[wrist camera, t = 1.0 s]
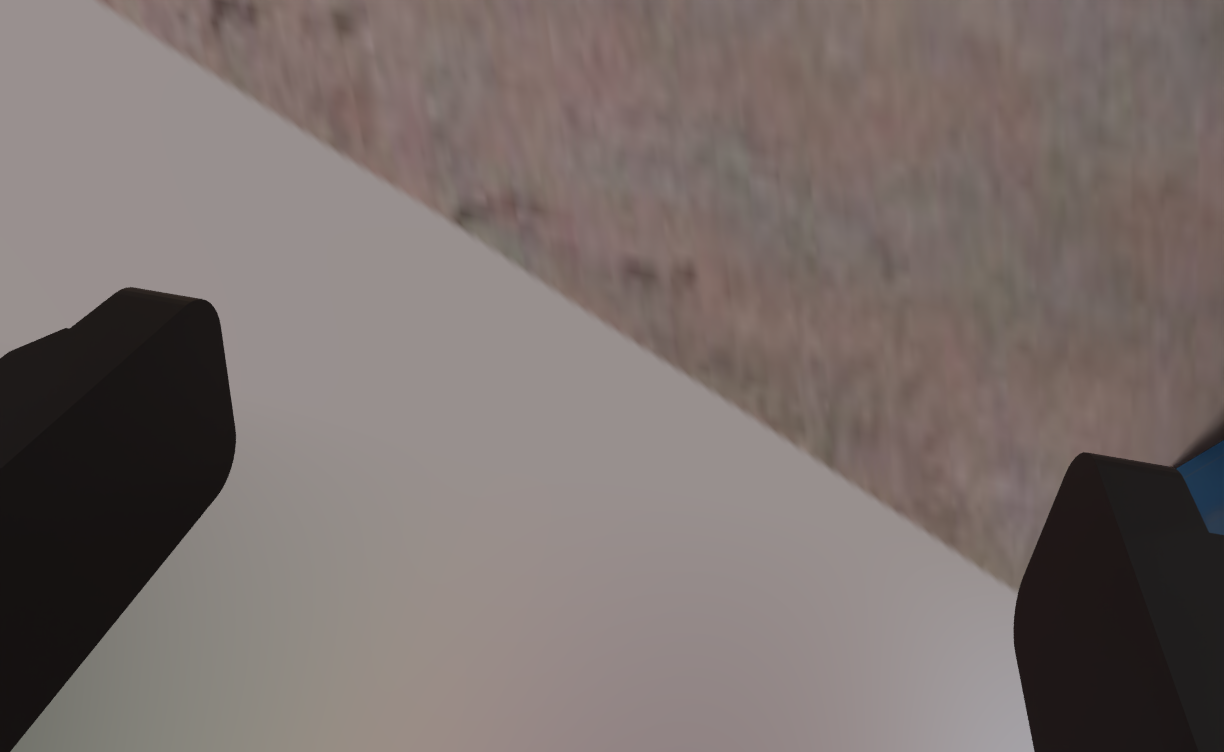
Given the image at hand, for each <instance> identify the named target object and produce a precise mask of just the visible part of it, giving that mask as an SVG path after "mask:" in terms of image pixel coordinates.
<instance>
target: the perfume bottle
mask: <svg viewBox="0 0 1224 752" xmlns="http://www.w3.org/2000/svg"><path fill="white" fill-rule="evenodd" d="M1176 469H1177V470H1178V471H1179V472H1180V473H1181V475H1182V476H1183V478H1184V480H1185V482H1186V484H1187V486H1188V488H1189V490H1190V493H1191V495H1192V497H1193V499H1194V501H1195V503H1196V505H1197V508H1198V510H1199V512H1200V514H1201V516H1202V518H1203V521H1204V523H1205V525H1206V527H1207V529H1208V531H1209V533H1215V534H1220V535H1224V440H1223V441H1221V442H1220V443H1218V444H1216V445H1215V446H1213V447H1211V448H1210V449H1208V450H1206V451H1205V452H1203V453H1201V454H1200V455H1198V456H1196V457H1195V458H1193V459H1191V460H1190V461H1188V462H1186V463H1185V464H1183V465H1181V466H1180V467H1178V468H1176Z"/></svg>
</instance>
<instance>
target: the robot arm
mask: <svg viewBox="0 0 1224 752" xmlns="http://www.w3.org/2000/svg"><path fill="white" fill-rule="evenodd" d="M235 444H236V432H235V423H234V416H233V409H232V402H231V396H230V389H229V381H228V374H227V367H226V360H225V353H224V346H223V339H222V332H221V325H220V320H219V317H218V314H217V312H216V310H215V308H214V307H213V306H212V304H211V303H209V302H208V301H206V300H202V299H198V298H192V297H186V296H180V295H174V294H168V293H162V292H156V291H151V290H145V289H139V288H133V287H130V288H124V289H121V290H120V291H118V292H116V293H115V294H114V295H112V296H111V297H110V298H108V299H107V300H106V301H104V302H103V303H102V304H101V305H99V306H98V307H97V308H96V309H94V310H93V311H92V312H90V313H89V314H88V315H87V316H85V317H84V318H83V319H82V320H80V321H79V322H78V323H76V324H75V325H74V326H72V327H71V328H70V329H68V328H65V329H62V330H60V331H58V332H55V333H53V334H50V335H48V336H46V337H44V338H41V339H38V340H36V341H34V342H31V343H29V344H27V345H24V346H22V347H19V348H17V349H15V350H12V351H11V352H9V353H7V354H6V355H4V356H3V357H2V358H0V752H10V751H11V750H12V749H13V747H14V746H15V745H16V744H17V743H18V741H19V740H20V739H21V738H22V736H23V735H24V734H25V733H26V731H27V730H28V729H29V728H30V727H31V725H32V724H33V723H34V722H35V720H36V719H37V718H38V716H39V715H40V714H41V713H42V712H43V710H44V709H45V708H46V707H47V705H48V704H49V703H50V702H51V701H52V699H53V698H54V697H55V696H56V694H57V693H58V692H59V691H60V689H61V688H62V687H63V686H64V684H65V683H66V682H67V681H68V679H69V678H70V677H71V676H72V675H73V673H74V672H75V671H76V670H77V669H78V667H79V666H80V664H81V663H82V662H83V661H84V660H85V659H86V657H87V656H88V655H89V654H90V652H91V651H92V650H93V649H94V648H95V646H96V645H97V644H98V643H99V641H100V640H101V639H102V638H103V636H104V635H105V634H106V633H107V631H108V630H109V629H110V628H111V627H112V625H113V624H114V623H115V622H116V620H117V619H118V618H119V616H120V615H121V614H122V613H123V612H124V610H125V609H126V608H127V607H128V605H129V604H130V603H131V602H132V601H133V599H134V598H135V597H136V596H137V594H138V593H139V592H140V591H141V590H142V588H143V587H144V586H145V585H146V583H147V582H148V581H149V580H150V578H151V577H152V576H153V575H154V573H155V572H156V571H157V570H158V568H159V567H160V566H161V565H162V563H163V562H164V561H165V560H166V559H167V557H168V556H169V555H170V554H171V552H172V551H173V550H174V549H175V548H176V546H177V545H178V544H179V543H180V541H181V540H182V539H183V538H184V536H185V535H186V534H187V533H188V531H189V530H190V529H191V527H193V525H194V524H195V523H196V521H197V520H198V519H199V518H200V517H201V515H202V514H203V513H204V512H205V510H206V509H207V508H208V507H209V506H210V504H211V503H212V502H213V501H214V499H215V498H216V497H217V496H218V494H219V493H220V491H221V490H222V488H223V486H224V484H225V482H226V480H227V478H228V476H229V472H230V470H231V467H232V463H233V459H234V453H235ZM1014 647H1015V653H1016V659H1017V664H1018V669H1019V674H1020V679H1021V684H1022V689H1023V694H1024V700H1025V705H1026V710H1027V715H1028V720H1029V725H1030V730H1031V735H1032V741H1033V746H1034V751H1035V752H1224V535H1220V534H1215V533H1209V531H1208V529H1207V527H1206V525H1205V523H1204V521H1203V518H1202V516H1201V514H1200V512H1199V510H1198V508H1197V505H1196V503H1195V501H1194V499H1193V497H1192V495H1191V493H1190V490H1189V488H1188V486H1187V484H1186V482H1185V480H1184V478H1183V476H1182V475H1181V473H1180V472H1179V471H1178V470H1177V469H1175V468H1173V467H1168V466H1162V465H1157V464H1151V463H1145V462H1139V461H1133V460H1127V459H1122V458H1116V457H1110V456H1104V455H1098V454H1092V453H1085V452H1083V453H1081V454H1079V455H1078V456H1077V457H1075V459H1074V460H1073V461H1072V463H1071V464H1070V466H1069V468H1068V470H1067V472H1066V474H1065V476H1064V479H1063V481H1062V484H1061V486H1060V488H1059V491H1058V493H1057V496H1056V498H1055V501H1054V503H1053V506H1052V508H1051V510H1050V513H1049V515H1048V518H1047V520H1046V523H1045V525H1044V527H1043V530H1042V532H1041V535H1040V537H1039V540H1038V542H1037V545H1036V547H1035V549H1034V552H1033V554H1032V557H1031V559H1030V562H1029V564H1028V566H1027V569H1026V571H1025V574H1024V576H1023V579H1022V582H1021V585H1020V588H1019V592H1018V597H1017V601H1016V607H1015V616H1014Z"/></svg>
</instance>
